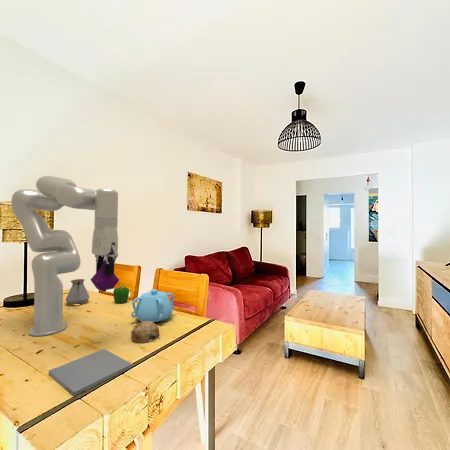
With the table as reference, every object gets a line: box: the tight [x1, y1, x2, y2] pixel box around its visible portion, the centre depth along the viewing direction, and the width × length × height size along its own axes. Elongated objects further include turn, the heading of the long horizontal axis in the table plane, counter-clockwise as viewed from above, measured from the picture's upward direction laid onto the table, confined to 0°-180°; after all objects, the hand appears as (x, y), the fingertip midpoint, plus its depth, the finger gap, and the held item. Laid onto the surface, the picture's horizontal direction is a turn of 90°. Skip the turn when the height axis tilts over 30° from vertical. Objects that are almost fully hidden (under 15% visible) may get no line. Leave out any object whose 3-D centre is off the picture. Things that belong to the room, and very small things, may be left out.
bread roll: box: [130, 321, 160, 344], centre depth 94 cm, size 10×10×8 cm
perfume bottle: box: [90, 253, 120, 291], centre depth 89 cm, size 8×8×18 cm
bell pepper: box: [112, 283, 130, 304], centre depth 140 cm, size 8×8×10 cm
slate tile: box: [48, 348, 133, 397], centre depth 72 cm, size 16×16×1 cm
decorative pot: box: [130, 288, 176, 323], centre depth 113 cm, size 16×16×14 cm
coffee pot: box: [65, 278, 90, 305], centre depth 134 cm, size 21×12×15 cm, turn 31°
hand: (105, 273), depth 89 cm, fingers closed on perfume bottle, 5 cm apart
